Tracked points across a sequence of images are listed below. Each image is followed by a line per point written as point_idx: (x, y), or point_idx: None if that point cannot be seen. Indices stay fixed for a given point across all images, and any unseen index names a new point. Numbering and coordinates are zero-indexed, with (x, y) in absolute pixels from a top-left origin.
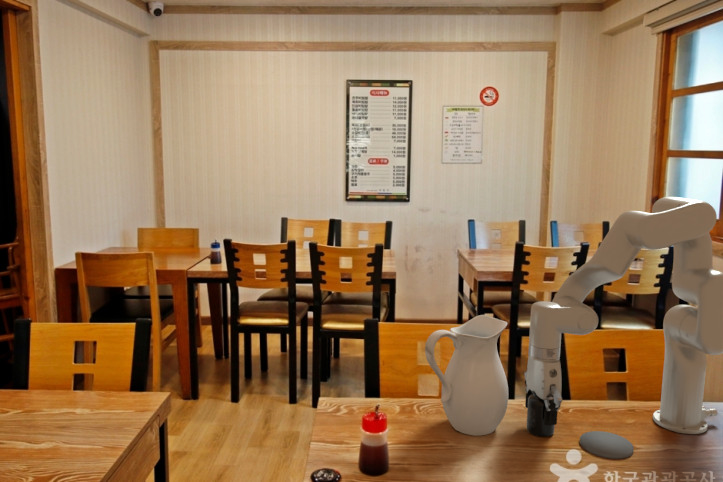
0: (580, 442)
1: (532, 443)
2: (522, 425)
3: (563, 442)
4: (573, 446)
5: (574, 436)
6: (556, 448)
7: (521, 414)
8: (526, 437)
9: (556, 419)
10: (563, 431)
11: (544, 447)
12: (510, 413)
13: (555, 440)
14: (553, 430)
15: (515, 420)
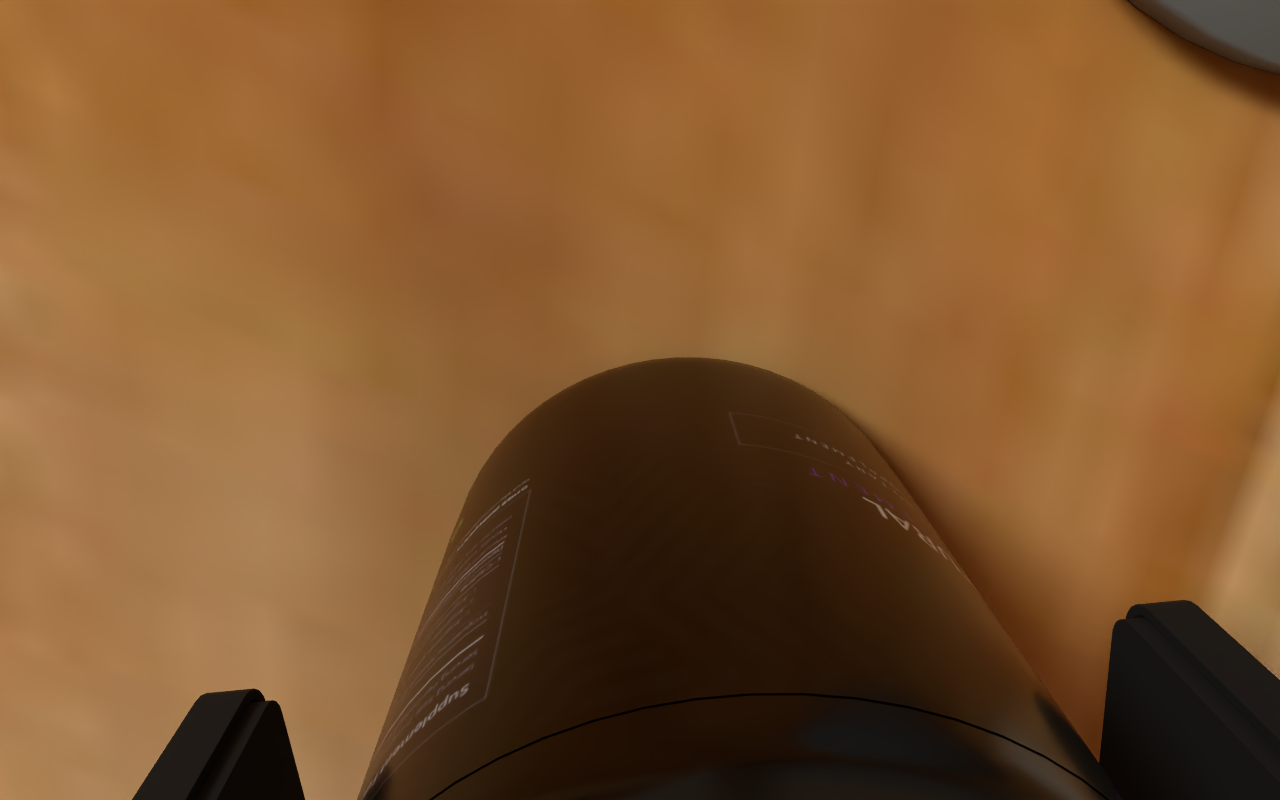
0: (1276, 66)
1: None
2: None
3: (1105, 340)
4: (1275, 232)
5: (958, 33)
6: (1237, 522)
7: (45, 631)
8: None
9: (1253, 670)
10: (735, 161)
11: None
12: (27, 775)
13: (1011, 439)
14: (868, 441)
15: None
